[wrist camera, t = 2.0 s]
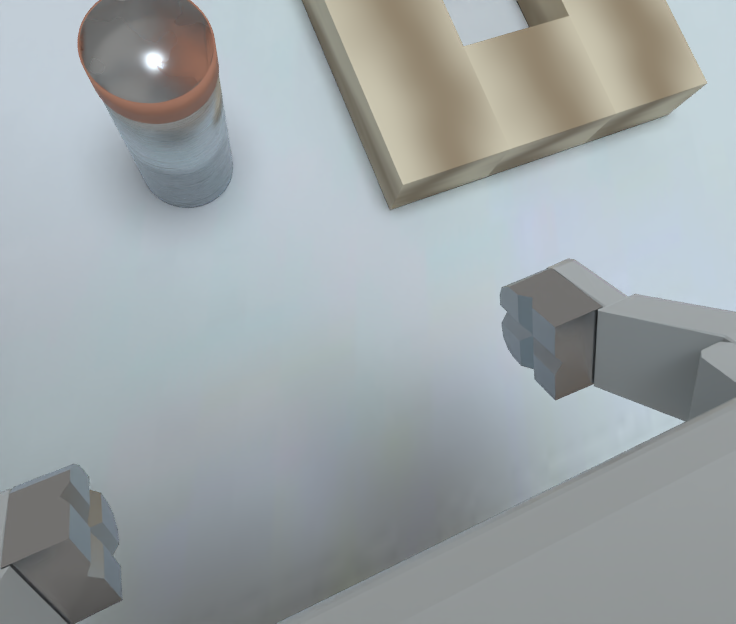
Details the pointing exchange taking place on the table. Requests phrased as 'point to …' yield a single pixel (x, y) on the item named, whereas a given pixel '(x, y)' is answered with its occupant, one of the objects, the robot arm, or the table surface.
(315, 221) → the table surface
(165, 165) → the steel peg
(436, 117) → the wooden flat square block
